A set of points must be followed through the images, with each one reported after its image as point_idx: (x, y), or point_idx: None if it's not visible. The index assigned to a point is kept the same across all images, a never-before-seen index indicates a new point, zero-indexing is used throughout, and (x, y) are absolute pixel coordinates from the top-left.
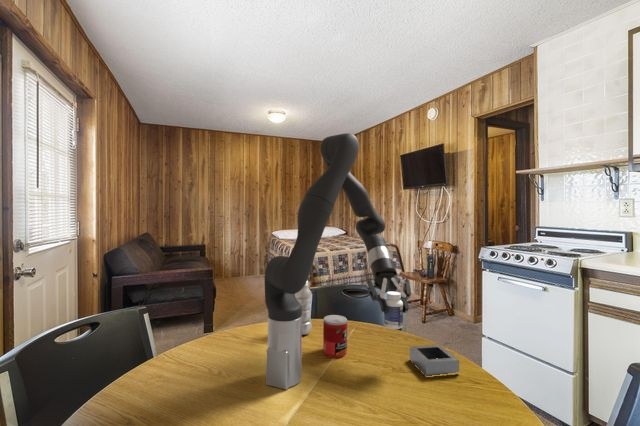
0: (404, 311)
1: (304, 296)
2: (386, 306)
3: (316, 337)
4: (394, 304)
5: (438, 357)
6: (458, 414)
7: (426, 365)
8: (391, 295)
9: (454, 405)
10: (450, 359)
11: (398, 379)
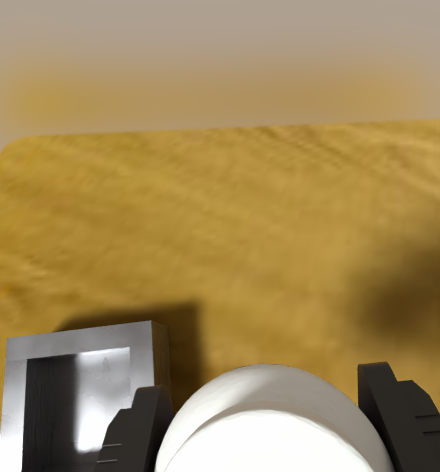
0: (171, 415)
1: None
2: (384, 396)
3: None
4: (291, 368)
5: (48, 459)
6: (163, 149)
7: (153, 322)
8: (338, 431)
9: (153, 182)
10: (38, 345)
11: (275, 317)
